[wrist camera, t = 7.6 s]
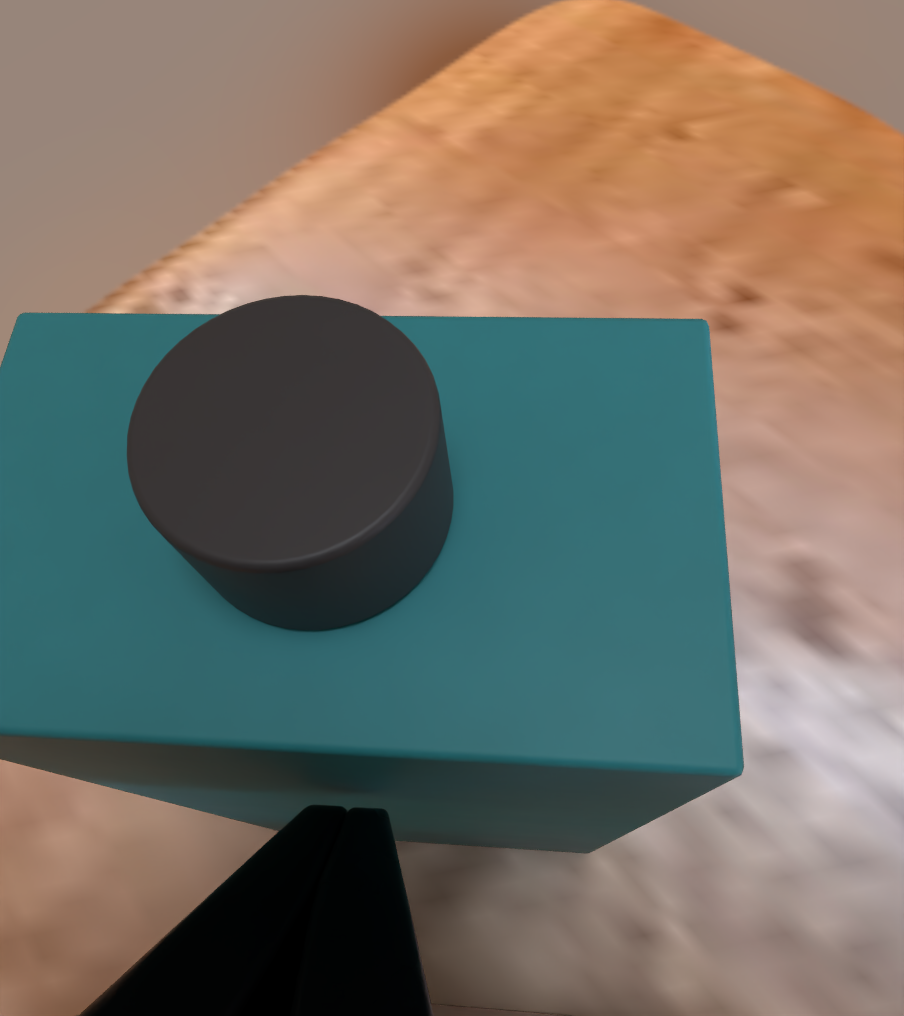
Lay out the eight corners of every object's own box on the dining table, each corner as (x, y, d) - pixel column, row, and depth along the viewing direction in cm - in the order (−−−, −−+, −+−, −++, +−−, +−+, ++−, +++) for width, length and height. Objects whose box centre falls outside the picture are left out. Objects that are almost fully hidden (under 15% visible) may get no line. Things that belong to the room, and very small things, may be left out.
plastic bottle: (612, 1250, 12) (841, 438, 4) (183, 1204, 13) (-327, 414, 5) (584, 724, 20) (646, 98, 12) (320, 711, 21) (214, 104, 13)
